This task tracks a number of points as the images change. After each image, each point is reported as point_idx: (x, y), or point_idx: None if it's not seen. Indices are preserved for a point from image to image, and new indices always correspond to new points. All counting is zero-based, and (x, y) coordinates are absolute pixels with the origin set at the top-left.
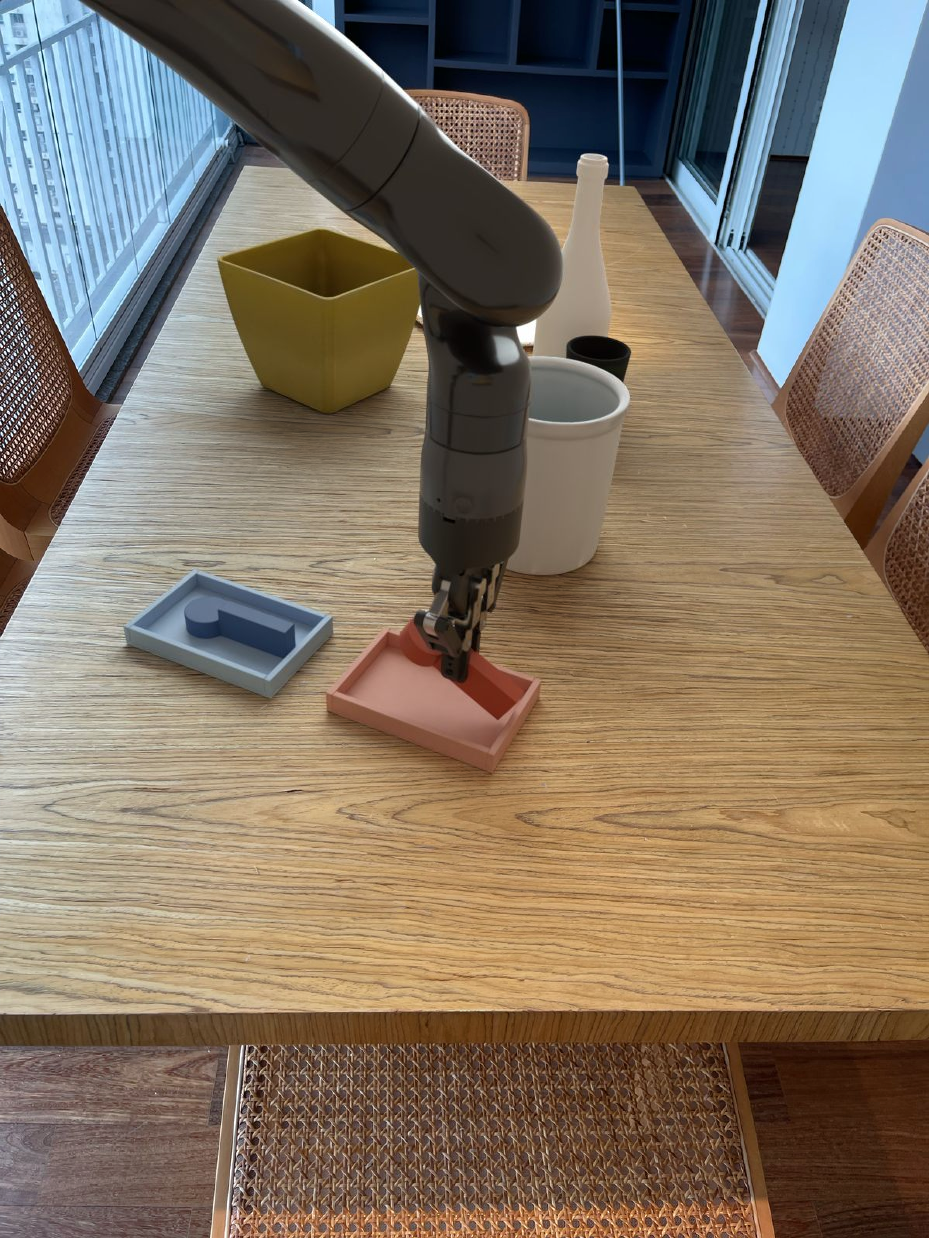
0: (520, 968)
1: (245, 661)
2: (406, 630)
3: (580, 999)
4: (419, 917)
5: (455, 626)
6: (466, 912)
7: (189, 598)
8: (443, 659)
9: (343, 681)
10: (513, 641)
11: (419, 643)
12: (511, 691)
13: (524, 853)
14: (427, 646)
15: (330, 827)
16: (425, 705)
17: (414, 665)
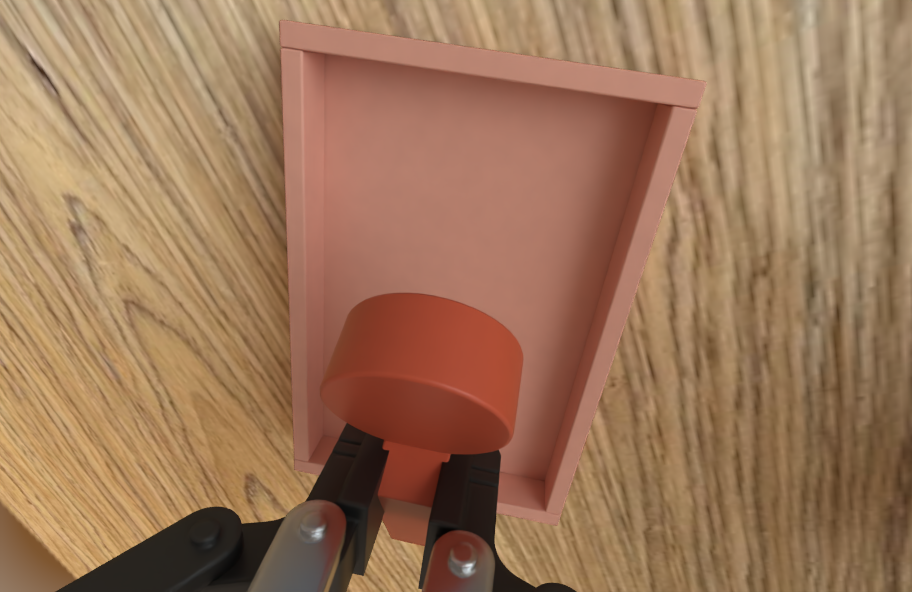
0: (40, 500)
1: None
2: (358, 359)
3: (55, 551)
4: (5, 385)
5: (441, 527)
6: (57, 438)
7: None
8: (326, 467)
9: (355, 55)
10: (758, 419)
11: (340, 401)
12: (406, 539)
13: (192, 490)
14: (170, 527)
15: (28, 198)
16: (423, 289)
17: (574, 217)
